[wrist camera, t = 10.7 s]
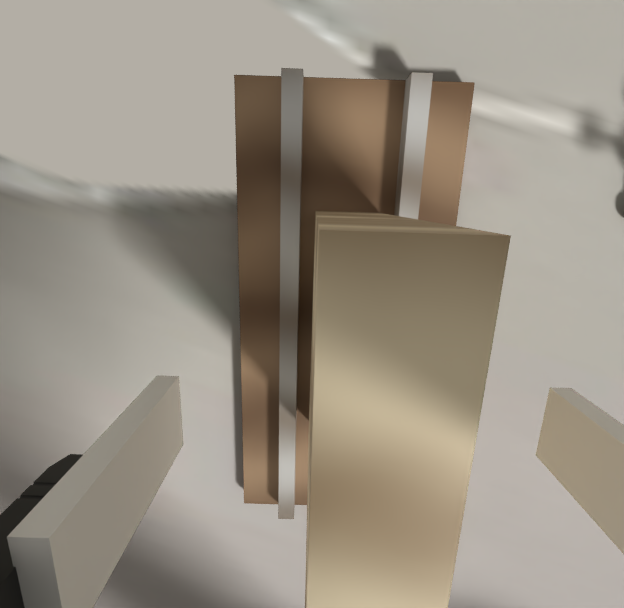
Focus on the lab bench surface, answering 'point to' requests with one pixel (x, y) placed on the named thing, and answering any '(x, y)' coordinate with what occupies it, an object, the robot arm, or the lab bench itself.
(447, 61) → the lab bench surface
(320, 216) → the door panel
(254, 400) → the track board
